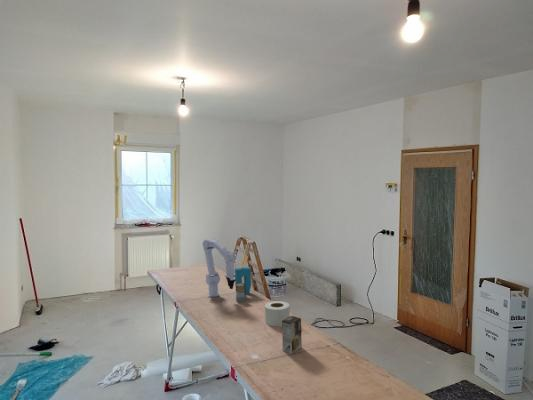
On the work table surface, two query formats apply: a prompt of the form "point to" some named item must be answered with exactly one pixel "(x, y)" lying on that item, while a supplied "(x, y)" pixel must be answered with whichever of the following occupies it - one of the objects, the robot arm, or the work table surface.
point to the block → (247, 277)
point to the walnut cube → (240, 288)
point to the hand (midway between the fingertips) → (230, 287)
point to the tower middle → (240, 294)
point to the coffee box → (291, 334)
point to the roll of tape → (276, 313)
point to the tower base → (240, 299)
